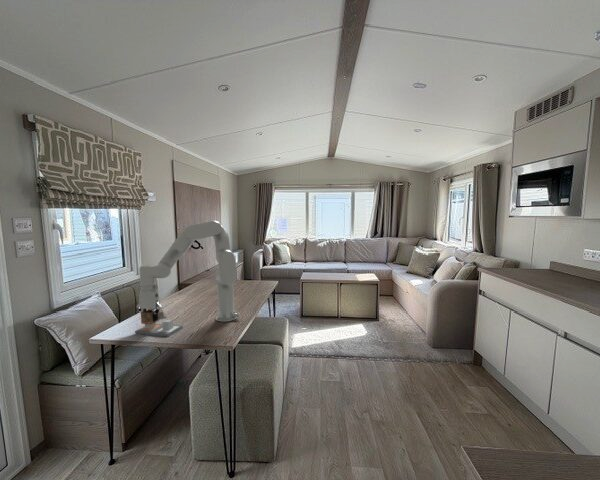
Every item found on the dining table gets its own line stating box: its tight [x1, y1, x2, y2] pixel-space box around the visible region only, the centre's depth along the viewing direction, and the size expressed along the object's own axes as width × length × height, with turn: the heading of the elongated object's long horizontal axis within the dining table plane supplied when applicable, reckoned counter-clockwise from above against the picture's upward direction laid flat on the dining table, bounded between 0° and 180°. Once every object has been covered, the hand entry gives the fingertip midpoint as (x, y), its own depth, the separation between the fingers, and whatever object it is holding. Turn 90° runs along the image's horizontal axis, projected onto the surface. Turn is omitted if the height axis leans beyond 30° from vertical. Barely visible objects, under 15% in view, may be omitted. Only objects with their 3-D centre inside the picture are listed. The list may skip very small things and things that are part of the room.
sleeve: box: [140, 309, 160, 325], centre depth 160 cm, size 6×6×6 cm
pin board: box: [134, 318, 183, 337], centre depth 159 cm, size 20×12×6 cm, turn 78°
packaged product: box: [157, 307, 168, 320], centre depth 186 cm, size 18×5×10 cm
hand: (150, 320), depth 160 cm, fingers closed on sleeve, 6 cm apart
